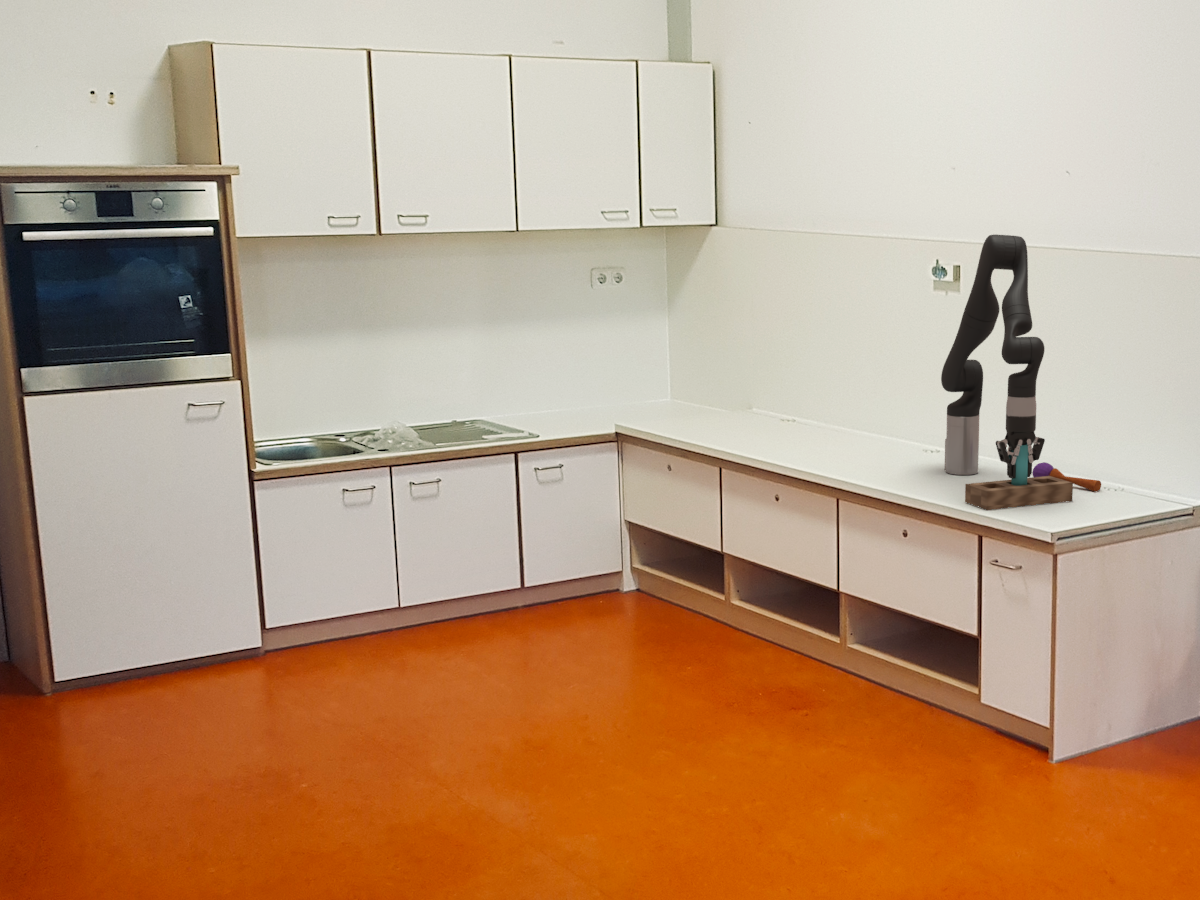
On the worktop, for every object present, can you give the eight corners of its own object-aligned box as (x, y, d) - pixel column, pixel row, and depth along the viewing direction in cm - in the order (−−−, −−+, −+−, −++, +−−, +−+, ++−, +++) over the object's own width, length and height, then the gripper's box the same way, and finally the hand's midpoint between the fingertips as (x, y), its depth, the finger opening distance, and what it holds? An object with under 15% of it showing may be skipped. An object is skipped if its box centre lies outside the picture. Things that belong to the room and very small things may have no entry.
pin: (1007, 495, 355) (1009, 443, 353) (1020, 494, 356) (1022, 442, 354) (1016, 498, 352) (1018, 446, 349) (1029, 497, 353) (1031, 445, 350)
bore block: (986, 510, 346) (986, 491, 345) (965, 502, 355) (965, 484, 354) (1072, 501, 353) (1072, 482, 352) (1049, 493, 363) (1049, 475, 362)
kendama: (1091, 479, 361) (1028, 464, 377) (1091, 500, 363) (1028, 483, 379) (1104, 472, 364) (1040, 457, 380) (1104, 492, 366) (1041, 477, 382)
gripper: (1035, 409, 356) (1033, 472, 359) (989, 413, 352) (987, 477, 355) (1053, 413, 349) (1051, 477, 352) (1005, 417, 345) (1004, 482, 348)
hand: (1019, 476), depth 353 cm, fingers closed on pin, 4 cm apart
